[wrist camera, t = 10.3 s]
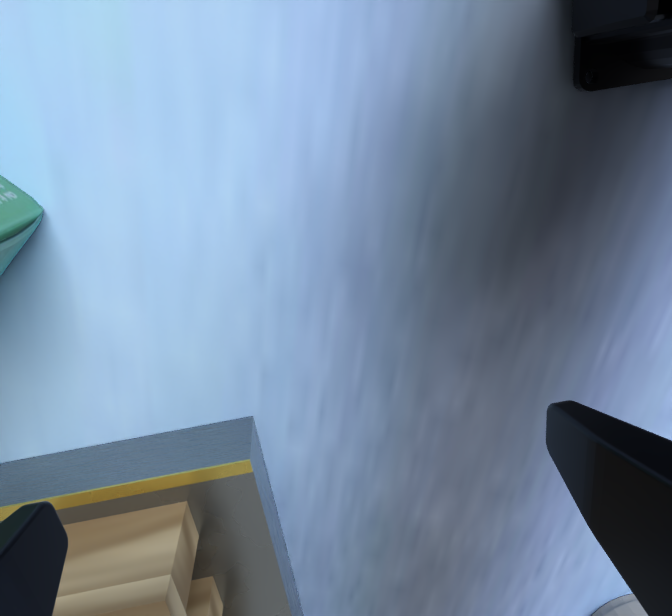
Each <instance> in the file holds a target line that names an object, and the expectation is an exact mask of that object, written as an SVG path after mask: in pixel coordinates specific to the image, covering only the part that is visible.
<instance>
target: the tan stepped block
mask: <svg viewBox="0 0 672 616" xmlns="http://www.w3.org/2000/svg"><path fill="white" fill-rule="evenodd" d="M63 527H64V529H65V531H66V533H67V536H68V550H67V555H66V559H65V563H64V567H63V572H62V576H61V580H60V585H59V589H58V593H57V597H56V602H55V606H54V610H53V615H52V616H222V613H223V604H222V601H221V598H220V595H219V592H218V589H217V587H216V584H215V581H214V578H213V576H211V577H206V578H201V579H196V580H192V581H191V579H192V573H193V567H194V562H195V556H196V550H197V544H198V539H199V535H198V532H197V529H196V526H195V523H194V520H193V517H192V514H191V512H190V509H189V506H188V503H187V501H185V502H180V503H174V504H169V505H164V506H159V507H154V508H149V509H144V510H139V511H134V512H128V513H123V514H118V515H113V516H108V517H103V518H98V519H93V520H88V521H83V522H77V523H72V524H67V525H63Z"/></svg>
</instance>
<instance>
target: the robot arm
mask: <svg viewBox="0 0 672 616" xmlns="http://www.w3.org/2000/svg"><path fill="white" fill-rule="evenodd" d="M572 32H573V33H574V35H575V46H574V70H573V82H574V86H575V87H576V89H578V90H579V91H596V90H602V89H608V88H614V87H620V86H627V85H633V84H639V83H645V82H652V81H658V80H664V79H670V78H672V0H573V12H572ZM589 70H590V71H591V72H592V79H591V81H590V82H589V83H587V82H586V79H585V77H586V74H587V72H588V71H589ZM546 445H547V449H548V451H549V454H550V456H551V458H552V459H553V461H554V463H555V465H556V467H557V469H558V471H559V473H560V474H561V476H562V478H563V480H564V482H565V484H566V486H567V488H568V489H569V491H570V493H571V495H572V497H573V499H574V501H575V503H576V504H577V506H578V508H579V510H580V512H581V514H582V516H583V517H584V519H585V521H586V523H587V525H588V526H589V528H590V530H591V531H592V533H593V534H594V536H595V537H596V539H597V541H598V542H599V543H600V545H601V546H602V548H603V549H604V551H605V552H606V554H607V555H608V557H609V558H610V560H611V561H612V563H613V564H614V566H615V567H616V569H617V570H618V572H619V573H620V575H621V576H622V578H623V579H624V581H625V582H626V584H627V585H628V586H629V588H630V589H631V591H632V592H633V594H634V595H635V597H636V598H637V600H638V601H639V603H640V604H641V606H642V607H643V609H644V610H645V612H646V613H647V615H648V616H672V441H671V440H669V439H666V438H664V437H661V436H659V435H656V434H654V433H651V432H649V431H646V430H644V429H641V428H639V427H637V426H634V425H632V424H629V423H627V422H624V421H622V420H619V419H617V418H614V417H612V416H609V415H607V414H604V413H602V412H599V411H597V410H594V409H592V408H590V407H587V406H585V405H582V404H580V403H577V402H575V401H571V400H568V401H562V402H557V403H552V404H550V405H549V406H548V408H547V420H546ZM67 550H68V536H67V533H66V531H65V529H64V527H63V525H62V523H61V520H60V518H59V516H58V514H57V512H56V510H55V508H54V506H53V505H52V504H51V503H50V502H48V501H41V502H36V503H30V504H26V505H23V506H21V507H20V508H18V509H17V510H16V511H15V512H13V513H12V514H11V515H10V516H8V517H7V518H6V519H4V520H3V521H2V522H1V523H0V616H52V615H53V610H54V606H55V602H56V597H57V593H58V589H59V585H60V580H61V576H62V572H63V567H64V563H65V559H66V555H67Z"/></svg>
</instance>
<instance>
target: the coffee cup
mask: <svg viewBox="0 0 672 616" xmlns="http://www.w3.org/2000/svg"><path fill="white" fill-rule="evenodd" d="M592 616H648V615H647V613H646V612H645V610H644V609H643V607H642V606H641V604H640V603H639V601H638V600H637V598H636V597H635V595H634V594H629V595H625V596H621V597H619V598H617V599H614V600H612V601H610V602H608V603H607V604H605V605H604V606H602V607H601V608H599V609H598V610H597V611H596V612H595V613H594V614H593V615H592Z"/></svg>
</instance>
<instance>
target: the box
mask: <svg viewBox="0 0 672 616" xmlns="http://www.w3.org/2000/svg"><path fill="white" fill-rule="evenodd" d="M42 215H43V208H42V207H41V206H40V205H39V204H38V203H37V202H36V201H35V200H34V199H33V198H32V197H31V196H29V195H28V194H26V193H25V192H24V191H22V190H21V189H19V188H18V187H17V186H15V185H14V184H12V183H11V182H10V181H8V180H7V179H5V178H4V177H2V176H1V175H0V276H1V275H2V273H3V272H4V271H5V269H6V268H7V267H8V265H9V264H10V262H11V261H12V260H13V258H14V257H15V256H16V254H17V253H18V252H19V250H20V249H21V248H22V246H23V245H24V244H25V243H26V241H27V240H28V239H29V237H30V236H31V235H32V234H33V232H34V231H35V230H36V228H37V226H38V225H39V223H40V221H41V220H42Z"/></svg>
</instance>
